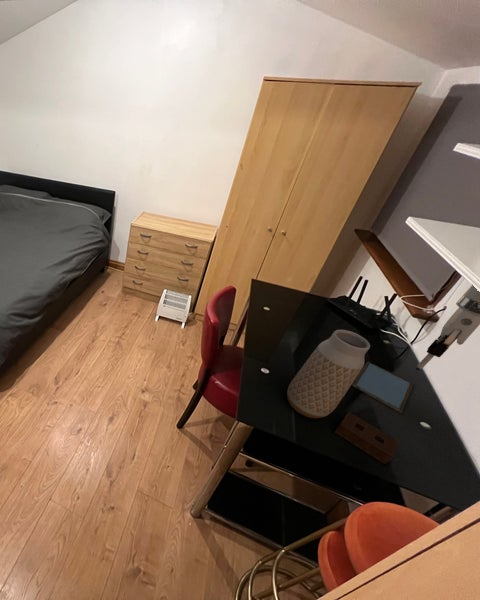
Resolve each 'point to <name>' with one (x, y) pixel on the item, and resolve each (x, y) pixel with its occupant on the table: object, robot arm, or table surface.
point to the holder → (367, 438)
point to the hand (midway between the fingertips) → (433, 352)
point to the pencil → (424, 361)
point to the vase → (328, 374)
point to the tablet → (383, 386)
